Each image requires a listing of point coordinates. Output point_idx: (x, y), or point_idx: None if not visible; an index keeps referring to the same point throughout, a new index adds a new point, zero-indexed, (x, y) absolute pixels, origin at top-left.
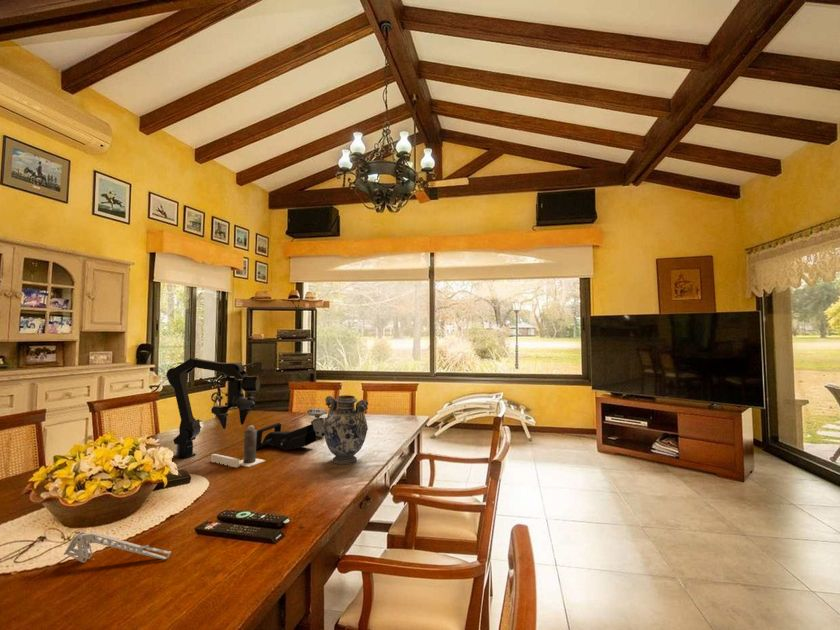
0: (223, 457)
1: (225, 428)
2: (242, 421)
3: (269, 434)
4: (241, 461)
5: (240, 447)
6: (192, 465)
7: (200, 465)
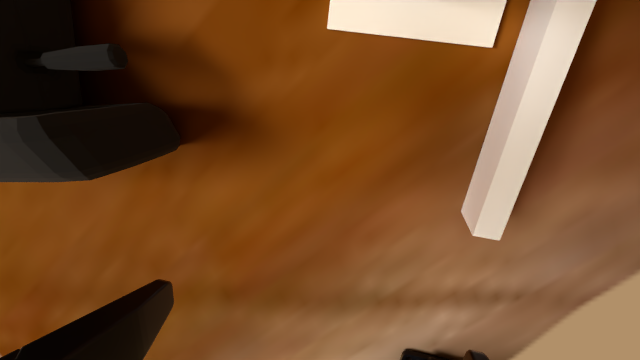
0: (551, 111)
1: (472, 351)
2: (139, 318)
3: (6, 107)
4: (446, 8)
5: (196, 240)
6: (580, 264)
7: (572, 224)
